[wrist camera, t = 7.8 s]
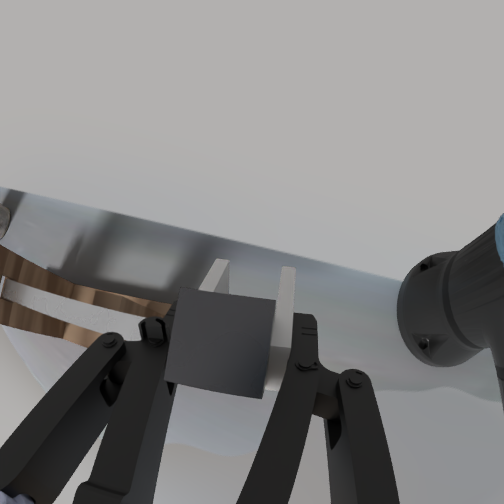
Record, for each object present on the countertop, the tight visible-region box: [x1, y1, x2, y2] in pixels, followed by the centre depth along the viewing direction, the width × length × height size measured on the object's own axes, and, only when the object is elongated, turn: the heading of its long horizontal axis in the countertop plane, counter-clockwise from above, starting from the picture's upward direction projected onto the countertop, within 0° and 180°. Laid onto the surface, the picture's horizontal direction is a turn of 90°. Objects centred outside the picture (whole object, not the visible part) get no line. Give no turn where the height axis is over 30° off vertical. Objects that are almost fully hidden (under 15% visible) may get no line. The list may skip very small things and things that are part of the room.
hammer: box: [2, 278, 276, 399], centre depth 16 cm, size 28×3×13 cm, turn 82°
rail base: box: [0, 245, 172, 348], centre depth 26 cm, size 30×8×19 cm, turn 82°
